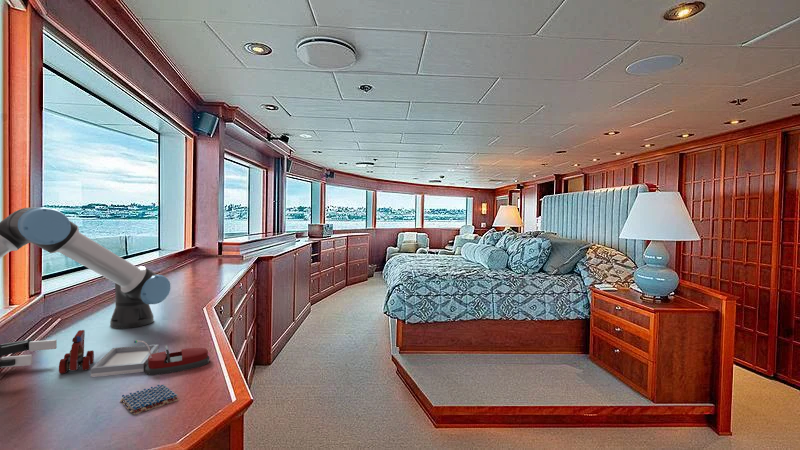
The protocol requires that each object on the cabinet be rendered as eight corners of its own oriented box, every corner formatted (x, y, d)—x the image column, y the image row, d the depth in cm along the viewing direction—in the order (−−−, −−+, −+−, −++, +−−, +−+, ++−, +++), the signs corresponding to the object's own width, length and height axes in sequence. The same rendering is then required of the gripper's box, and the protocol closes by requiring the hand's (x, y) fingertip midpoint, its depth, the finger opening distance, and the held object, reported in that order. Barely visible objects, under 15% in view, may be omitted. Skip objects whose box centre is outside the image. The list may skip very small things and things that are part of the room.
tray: (113, 355, 130) (113, 348, 130) (158, 351, 134) (158, 344, 134) (90, 377, 113) (90, 368, 113) (143, 371, 117) (143, 363, 117)
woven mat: (132, 418, 92) (132, 409, 92) (118, 403, 99) (118, 395, 99) (180, 402, 100) (180, 394, 100) (164, 389, 107) (164, 382, 107)
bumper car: (211, 366, 123) (211, 334, 122) (134, 380, 112) (133, 345, 111) (206, 356, 131) (206, 326, 131) (134, 369, 120) (134, 336, 119)
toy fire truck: (56, 378, 112) (56, 341, 112) (67, 363, 123) (67, 330, 123) (87, 373, 115) (87, 338, 115) (95, 359, 126) (95, 327, 126)
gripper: (-20, 357, 121) (64, 350, 128) (-89, 392, 98) (19, 381, 104) (-21, 332, 121) (64, 327, 128) (-90, 362, 97) (19, 353, 104)
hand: (44, 351), depth 116 cm, fingers open, 13 cm apart
